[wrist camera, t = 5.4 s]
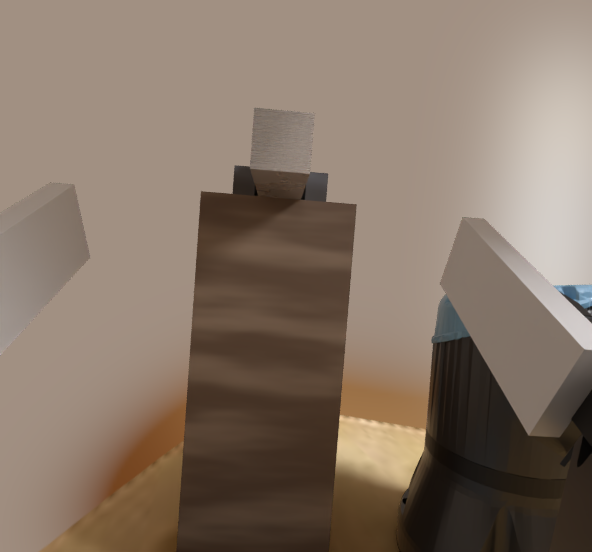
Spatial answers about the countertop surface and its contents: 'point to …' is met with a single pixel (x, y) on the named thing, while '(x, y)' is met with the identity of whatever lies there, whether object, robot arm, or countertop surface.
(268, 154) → the steel bar
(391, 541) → the countertop surface
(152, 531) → the countertop surface
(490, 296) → the robot arm
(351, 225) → the walnut stand
